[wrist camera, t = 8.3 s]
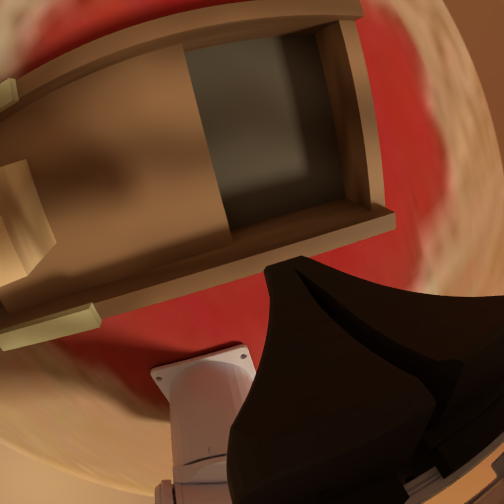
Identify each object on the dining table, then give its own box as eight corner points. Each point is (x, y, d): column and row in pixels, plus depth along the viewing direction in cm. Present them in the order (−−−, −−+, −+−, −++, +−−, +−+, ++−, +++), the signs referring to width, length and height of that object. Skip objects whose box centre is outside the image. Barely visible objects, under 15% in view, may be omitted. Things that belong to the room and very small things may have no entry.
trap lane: (357, 208, 20) (401, 233, 16) (-32, 328, 17) (-56, 364, 12) (322, 19, 14) (364, -5, 10) (-90, 193, 11) (-127, 212, 6)
